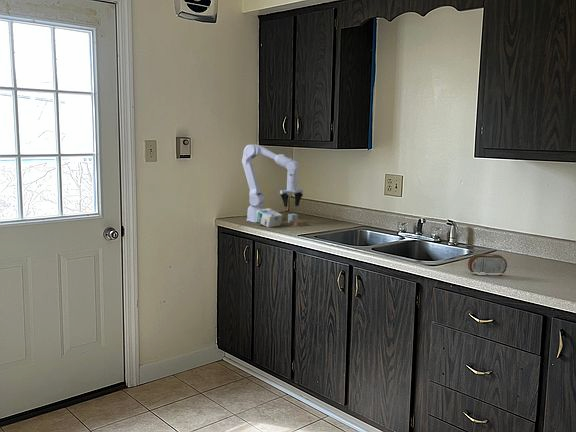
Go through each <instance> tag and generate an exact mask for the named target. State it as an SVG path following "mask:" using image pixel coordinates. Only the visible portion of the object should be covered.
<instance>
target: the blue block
mask: <svg viewBox="0 0 576 432" xmlns="http://www.w3.org/2000/svg"><path fill="white" fill-rule="evenodd" d="M298 216H299V215H298V213H297V214H296V213H288V214H287V223H289V222H290V220H297V219H299V218H298Z"/></svg>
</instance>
